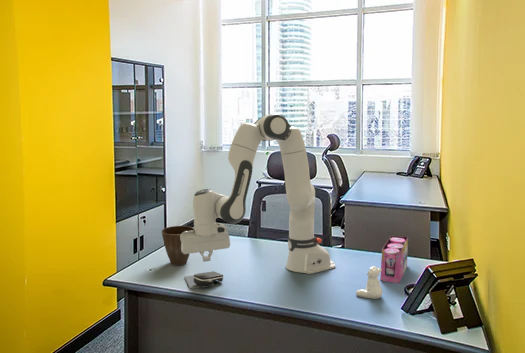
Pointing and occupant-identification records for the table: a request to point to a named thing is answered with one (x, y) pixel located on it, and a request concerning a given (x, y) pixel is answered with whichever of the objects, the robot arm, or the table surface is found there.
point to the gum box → (394, 259)
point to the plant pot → (175, 244)
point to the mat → (191, 282)
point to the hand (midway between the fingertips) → (206, 260)
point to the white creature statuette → (371, 285)
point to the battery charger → (207, 278)
